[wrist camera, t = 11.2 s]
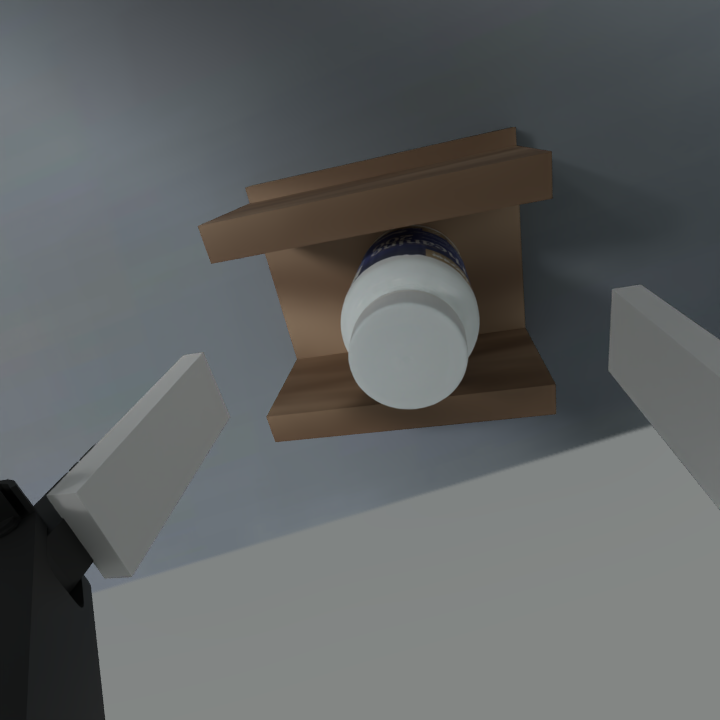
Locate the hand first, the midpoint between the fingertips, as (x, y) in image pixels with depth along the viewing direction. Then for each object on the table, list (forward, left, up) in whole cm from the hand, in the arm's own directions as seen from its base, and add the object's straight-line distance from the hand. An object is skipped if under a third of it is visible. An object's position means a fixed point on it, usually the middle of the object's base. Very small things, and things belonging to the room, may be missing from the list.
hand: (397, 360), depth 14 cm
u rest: (0, -1, -11) cm, 11 cm away
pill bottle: (0, 0, -10) cm, 10 cm away
